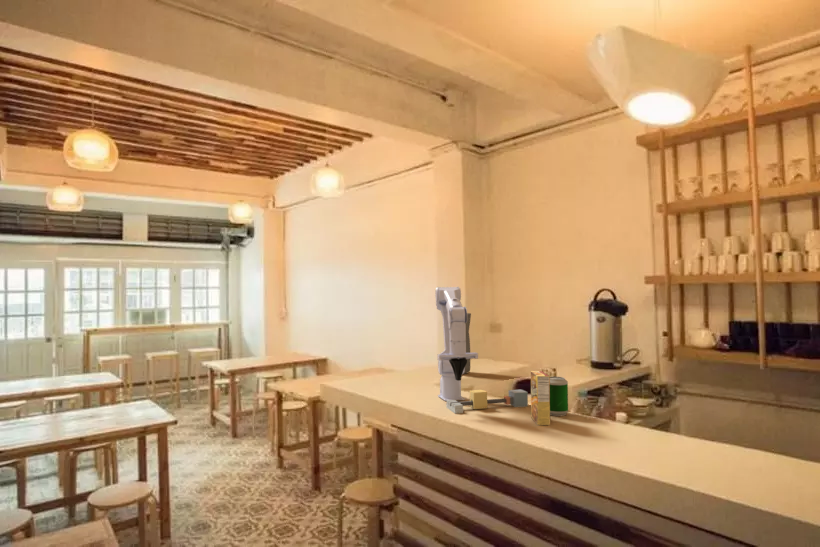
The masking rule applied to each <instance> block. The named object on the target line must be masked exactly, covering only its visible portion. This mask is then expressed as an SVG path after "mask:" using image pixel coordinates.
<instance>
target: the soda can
mask: <svg viewBox="0 0 820 547" xmlns="http://www.w3.org/2000/svg"><path fill="white" fill-rule="evenodd" d="M568 384H569V382H568V380H566V377H563V376H550V416H553V417H554V416H555V417H564V416H566V415H567V414H568V413H569V390H568V389H569V385H568Z"/></svg>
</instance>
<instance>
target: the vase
mask: <svg viewBox="0 0 820 547" xmlns="http://www.w3.org/2000/svg"><path fill="white" fill-rule="evenodd" d="M471 317H472V313H470V312H467V323H465V324H466V353H471V341H470V340H471V339H470V324H471ZM466 360H467V364H466V366H465V372H464V373H463V374H462V375H467V374H468V373H470V371H471V359H466Z"/></svg>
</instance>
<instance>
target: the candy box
mask: <svg viewBox="0 0 820 547" xmlns="http://www.w3.org/2000/svg"><path fill="white" fill-rule="evenodd" d="M550 377H551V376H550V375H549V374H547V373H546V372H544V371H542V370H540V371H539V370H531V371H530V416H531V417H530V418H531V419H532V420H533V422H535V424H536V425H537V426H551V415H550Z"/></svg>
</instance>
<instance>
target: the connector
mask: <svg viewBox="0 0 820 547" xmlns="http://www.w3.org/2000/svg"><path fill="white" fill-rule="evenodd" d="M528 393H529V392H528V391H526V390H524V389H509V390H508V395H507V396H508V397H510V405H509V406H512V407H514V408H521V407H522V408H523V407H528V404H529V403H528V402H529V401H528V398H529V397H528V396H529V394H528Z"/></svg>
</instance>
